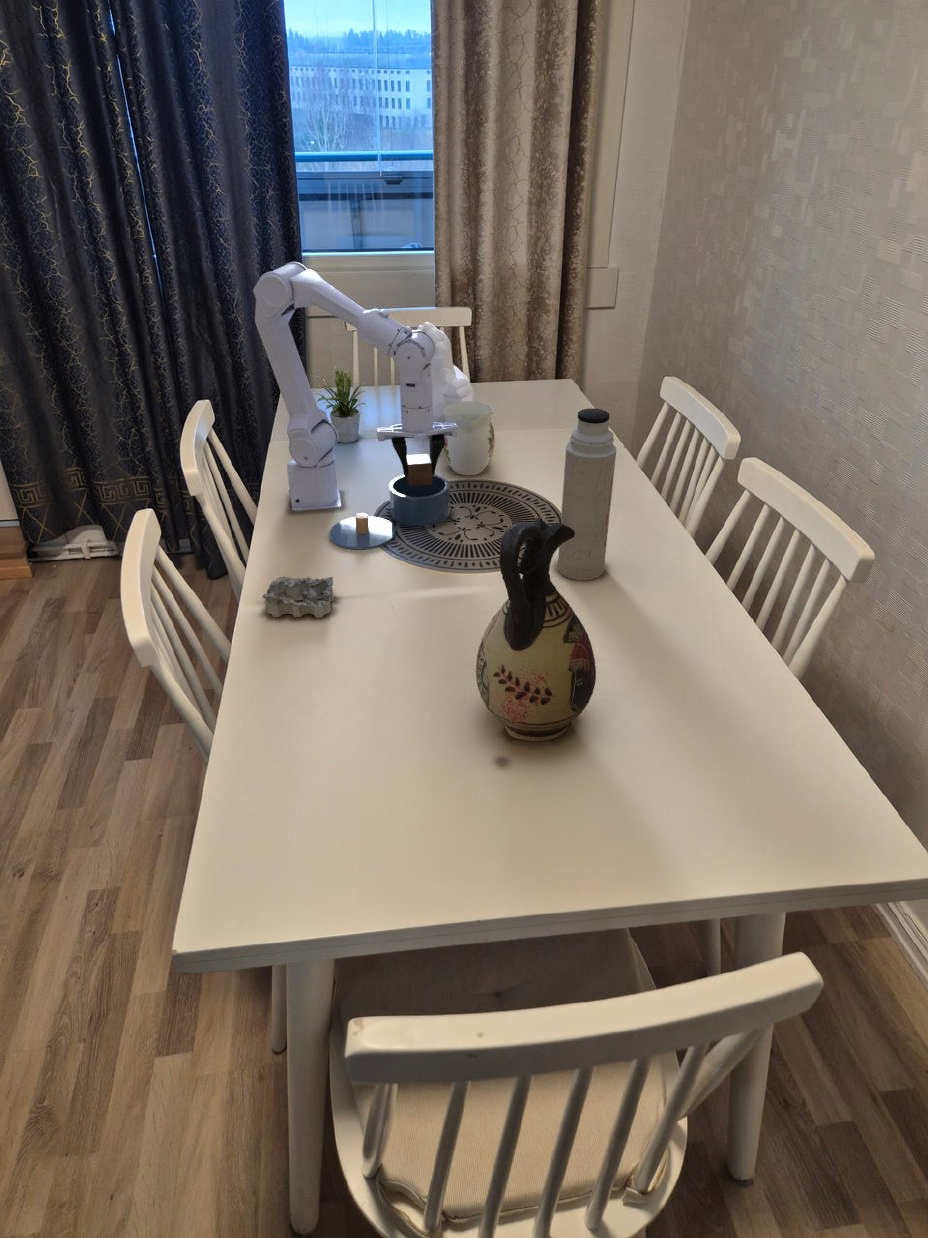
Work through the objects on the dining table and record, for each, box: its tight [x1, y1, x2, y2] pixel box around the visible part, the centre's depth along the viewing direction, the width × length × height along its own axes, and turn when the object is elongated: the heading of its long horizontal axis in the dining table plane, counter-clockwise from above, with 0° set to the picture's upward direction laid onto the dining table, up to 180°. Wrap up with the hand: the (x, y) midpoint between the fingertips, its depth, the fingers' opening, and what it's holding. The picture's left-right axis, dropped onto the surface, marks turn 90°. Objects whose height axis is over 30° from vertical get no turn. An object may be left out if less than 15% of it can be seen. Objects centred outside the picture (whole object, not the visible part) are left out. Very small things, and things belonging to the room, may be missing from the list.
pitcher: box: [443, 401, 495, 476], centre depth 178 cm, size 11×18×14 cm, turn 2°
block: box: [407, 453, 432, 486], centre depth 158 cm, size 4×4×4 cm
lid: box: [329, 512, 397, 551], centre depth 155 cm, size 12×12×4 cm
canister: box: [388, 474, 451, 527], centre depth 162 cm, size 11×11×6 cm
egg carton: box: [262, 575, 335, 618], centre depth 135 cm, size 11×8×4 cm
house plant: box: [309, 365, 368, 444], centre depth 192 cm, size 14×14×16 cm
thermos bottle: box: [557, 407, 617, 581], centre depth 138 cm, size 8×8×28 cm
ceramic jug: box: [475, 516, 597, 762], centre depth 104 cm, size 17×15×30 cm
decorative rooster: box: [416, 321, 475, 423], centre depth 195 cm, size 25×16×25 cm
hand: (418, 473), depth 159 cm, fingers closed on block, 4 cm apart
